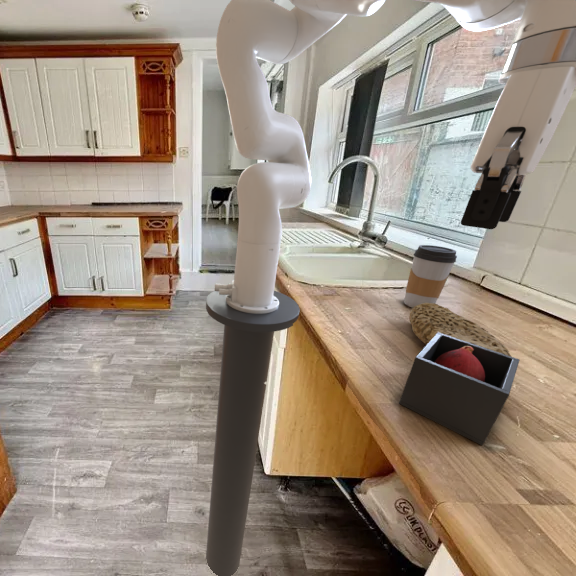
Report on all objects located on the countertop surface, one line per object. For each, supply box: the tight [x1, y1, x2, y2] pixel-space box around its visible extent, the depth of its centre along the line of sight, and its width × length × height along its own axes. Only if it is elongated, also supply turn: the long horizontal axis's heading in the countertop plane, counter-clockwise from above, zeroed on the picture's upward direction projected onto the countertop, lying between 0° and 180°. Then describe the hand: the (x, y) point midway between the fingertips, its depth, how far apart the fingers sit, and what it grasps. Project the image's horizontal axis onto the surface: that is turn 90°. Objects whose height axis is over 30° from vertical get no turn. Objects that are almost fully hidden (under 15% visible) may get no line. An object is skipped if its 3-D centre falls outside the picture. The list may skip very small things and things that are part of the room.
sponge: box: [409, 303, 512, 357], centre depth 58 cm, size 13×8×20 cm
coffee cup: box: [403, 244, 458, 309], centre depth 76 cm, size 8×8×15 cm
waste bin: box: [398, 332, 520, 446], centre depth 44 cm, size 11×9×8 cm
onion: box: [434, 346, 485, 382], centre depth 45 cm, size 6×6×8 cm
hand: (484, 223), depth 39 cm, fingers open, 9 cm apart
